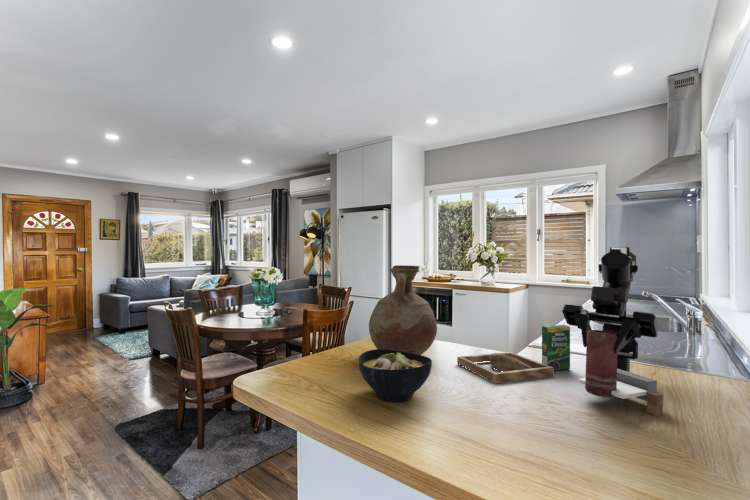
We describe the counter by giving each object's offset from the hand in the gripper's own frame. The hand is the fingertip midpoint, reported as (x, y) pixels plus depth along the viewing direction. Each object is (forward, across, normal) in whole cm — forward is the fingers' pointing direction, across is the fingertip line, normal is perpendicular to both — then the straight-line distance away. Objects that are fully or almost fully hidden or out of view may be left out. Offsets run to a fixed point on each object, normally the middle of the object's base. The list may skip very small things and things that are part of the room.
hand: (599, 348), depth 84 cm
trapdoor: (+4, +2, +12) cm, 13 cm away
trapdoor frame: (+4, +3, +15) cm, 16 cm away
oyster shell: (+2, -26, +18) cm, 32 cm away
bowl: (+31, -35, -13) cm, 48 cm away
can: (+7, 0, +8) cm, 10 cm away
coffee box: (-6, -17, +25) cm, 31 cm away
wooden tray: (+4, -27, +15) cm, 31 cm away
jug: (+14, -54, +5) cm, 56 cm away
